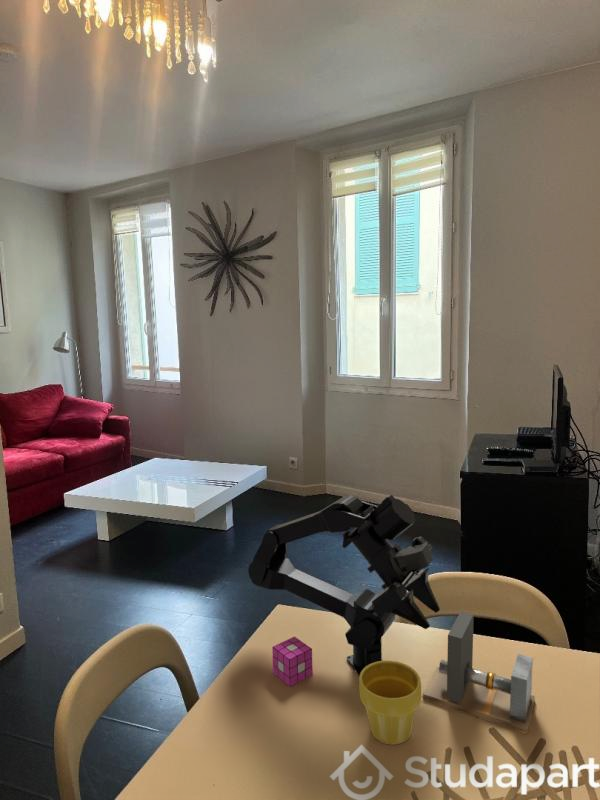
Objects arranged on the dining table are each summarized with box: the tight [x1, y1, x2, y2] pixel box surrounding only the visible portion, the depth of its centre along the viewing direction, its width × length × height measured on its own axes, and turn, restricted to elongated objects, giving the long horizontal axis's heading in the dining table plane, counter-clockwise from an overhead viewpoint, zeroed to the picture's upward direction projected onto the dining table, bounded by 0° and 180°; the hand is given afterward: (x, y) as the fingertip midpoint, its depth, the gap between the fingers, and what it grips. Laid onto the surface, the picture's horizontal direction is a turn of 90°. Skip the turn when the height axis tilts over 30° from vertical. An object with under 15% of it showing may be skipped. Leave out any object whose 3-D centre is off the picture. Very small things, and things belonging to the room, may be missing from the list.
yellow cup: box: [358, 660, 422, 746], centre depth 94 cm, size 10×10×10 cm
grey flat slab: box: [446, 611, 475, 703], centre depth 102 cm, size 2×9×12 cm, turn 150°
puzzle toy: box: [271, 636, 313, 688], centre depth 110 cm, size 6×6×6 cm
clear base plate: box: [422, 666, 536, 734], centre depth 101 cm, size 18×9×1 cm, turn 60°
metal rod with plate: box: [438, 653, 534, 723], centre depth 100 cm, size 16×7×8 cm, turn 60°
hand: (433, 619), depth 104 cm, fingers open, 6 cm apart
